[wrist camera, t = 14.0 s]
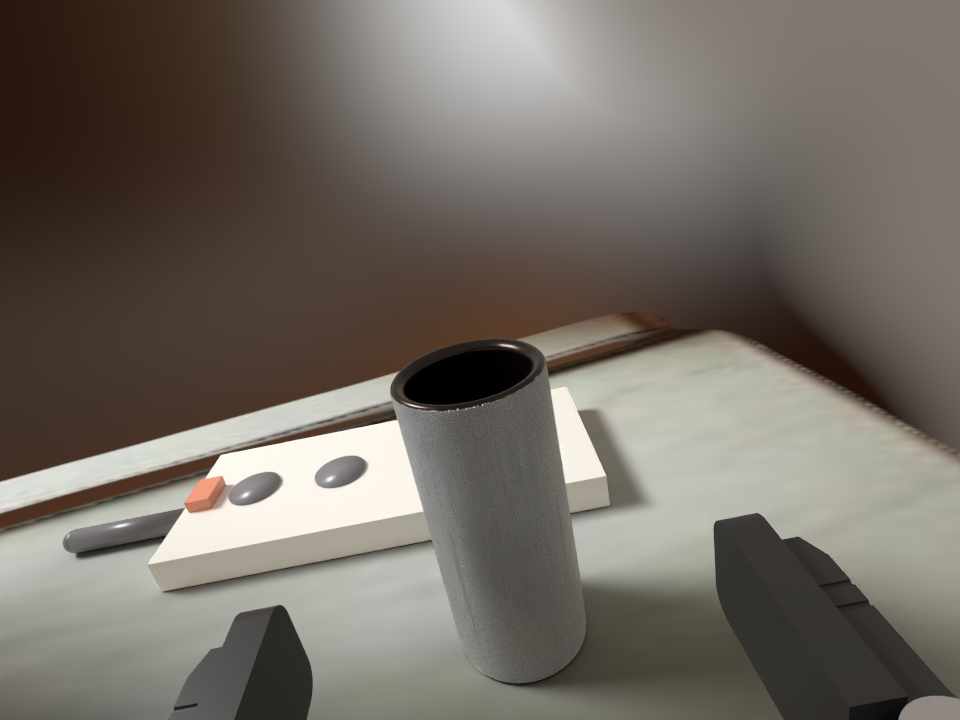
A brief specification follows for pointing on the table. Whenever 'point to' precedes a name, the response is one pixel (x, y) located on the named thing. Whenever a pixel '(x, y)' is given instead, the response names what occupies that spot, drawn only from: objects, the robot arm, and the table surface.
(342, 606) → the table surface
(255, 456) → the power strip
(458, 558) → the planter
